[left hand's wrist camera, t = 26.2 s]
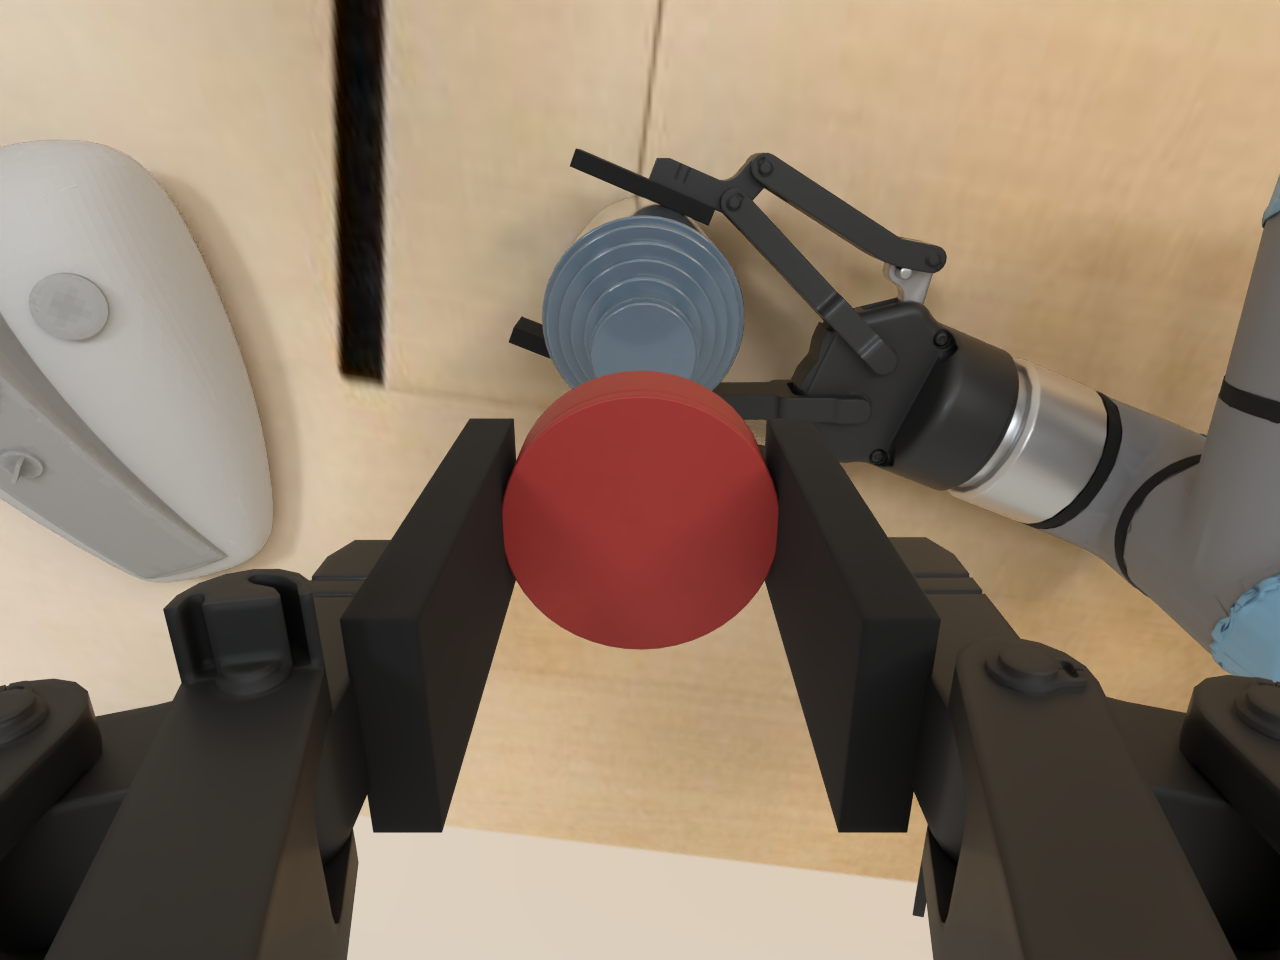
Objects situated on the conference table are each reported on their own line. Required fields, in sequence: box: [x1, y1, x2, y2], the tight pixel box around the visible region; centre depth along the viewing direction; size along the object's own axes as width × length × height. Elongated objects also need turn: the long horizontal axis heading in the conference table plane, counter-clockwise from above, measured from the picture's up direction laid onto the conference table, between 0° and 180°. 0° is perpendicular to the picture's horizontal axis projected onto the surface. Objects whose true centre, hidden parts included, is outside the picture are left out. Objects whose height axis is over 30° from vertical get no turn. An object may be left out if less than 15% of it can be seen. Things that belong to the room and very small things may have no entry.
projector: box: [0, 140, 273, 582], centre depth 38 cm, size 22×23×15 cm
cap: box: [502, 371, 779, 649], centre depth 14 cm, size 4×4×2 cm
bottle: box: [542, 197, 744, 391], centre depth 34 cm, size 8×8×20 cm
